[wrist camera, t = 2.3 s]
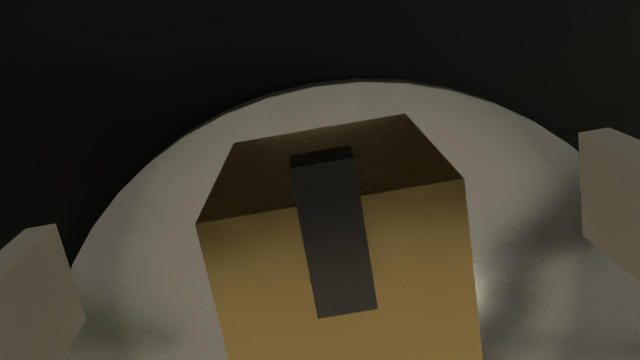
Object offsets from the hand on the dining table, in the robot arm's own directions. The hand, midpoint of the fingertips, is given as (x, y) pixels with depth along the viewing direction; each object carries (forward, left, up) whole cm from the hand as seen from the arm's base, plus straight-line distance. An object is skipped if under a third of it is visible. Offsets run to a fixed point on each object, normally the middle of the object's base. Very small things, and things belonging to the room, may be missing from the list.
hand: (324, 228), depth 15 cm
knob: (0, 0, -4) cm, 4 cm away
